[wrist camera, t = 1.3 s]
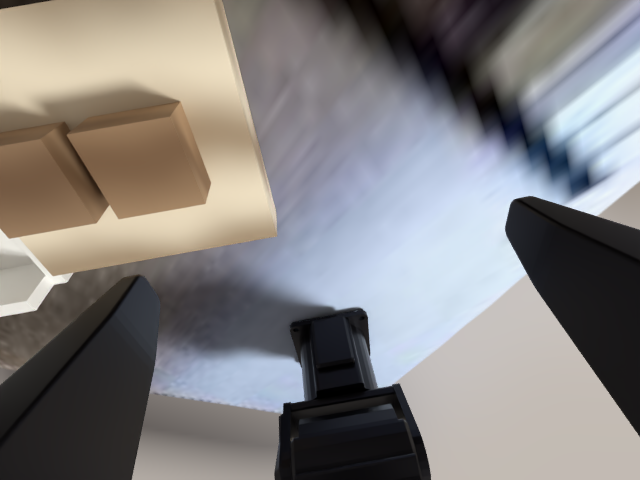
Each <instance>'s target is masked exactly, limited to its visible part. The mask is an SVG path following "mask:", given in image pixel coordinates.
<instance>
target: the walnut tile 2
mask: <svg viewBox="0 0 640 480" xmlns="http://www.w3.org/2000/svg"><path fill="white" fill-rule="evenodd" d="M66 135H67V137H68V138H69V140H70V141H71V143H72V145H73V146H74V148H75V150H76V151H77V153H78V154H79V156H80V158H81V159H82V161H83V163H84V164H85V166H86V167H87V169H88V171H89V172H90V174H91V176H92V177H93V179H94V180H95V182H96V184H97V185H98V187H99V189H100V190H101V192H102V193H103V195H104V197H105V198H106V200H107V201H108V203H109V205H110V206H111V208H112V210H113V211H114V213H115V214H116V216H117V218H118V219H124V218H130V217H135V216H141V215H147V214H152V213H158V212H164V211H169V210H175V209H180V208H186V207H192V206H197V205H203V204H206V200H207V197H208V193H209V189H210V186H211V181H210V178H209V176H208V173H207V170H206V168H205V165H204V162H203V160H202V157H201V154H200V152H199V149H198V146H197V144H196V141H195V138H194V136H193V133H192V130H191V128H190V125H189V122H188V120H187V117H186V115H185V112H184V109H183V107H182V104H181V101H179V102H174V103H168V104H162V105H156V106H151V107H145V108H139V109H133V110H128V111H122V112H116V113H110V114H105V115H99V116H93V117H88V118H87V119H85V120H84V121H83V122H82V123H80V124H79V125H78V126H77V127H75V128H74V129H73V130H72V131H70V132H69V133H68V134H66Z"/></svg>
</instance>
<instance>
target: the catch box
mask: <svg viewBox="0 0 640 480" xmlns="http://www.w3.org/2000/svg"><path fill="white" fill-rule="evenodd" d="M72 274H73V273H69V274H63V275H57V276H52V275H51V274H50V273H49V272H48V270H47V269H46V268H45V267H44V266H43V265H42V264H41V262H40V261H39V260H38V259H37V258H36V257H35V256H34V254H33V253H32V252H31V251H30V250H29V249H28V248H27V246H26V245H25V244H24V243H23V242H22V241H21V240H20V238H19V237H17V238H11V239H9V238H8V237H7V236H6V235H5V234H4V233H3V231H2V230H1V229H0V317H2V316H8V315H13V314H19V313H24V312H30V311H36V310H37V309H38V307H39V306H40V304H41V303H42V301H43V300H44V298H45V297H46V295H47V294H48V293H49V291H50V290H51V288H52V287H53V285H55V284H60V283H66V282H68V280H69V279H70V277H71V276H72Z"/></svg>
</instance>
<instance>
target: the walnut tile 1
mask: <svg viewBox="0 0 640 480" xmlns="http://www.w3.org/2000/svg"><path fill="white" fill-rule="evenodd" d="M69 132H70V129H69V128H68V126H67V124H66V123H65V121H64V122H58V123H53V124H47V125H41V126H35V127H30V128H24V129H18V130H12V131H7V132H1V133H0V229H1V230H2V231H3V233H4V234H5V235H6V236H7V237H8V238H9V239H11V238H17V237H22V236H28V235H34V234H39V233H45V232H51V231H56V230H62V229H68V228H73V227H79V226H85V225H90V224H96V223H97V222H98V221H99V219H100V218H101V216H102V215H103V214H104V212H105V211H106V209H107V208H108V206H109V203H108V201H107V200H106V198H105V197H104V195H103V193H102V192H101V190H100V189H99V187H98V185H97V184H96V182H95V180H94V179H93V177H92V176H91V174H90V172H89V171H88V169H87V167H86V166H85V164H84V163H83V161H82V159H81V158H80V156H79V154H78V153H77V151H76V150H75V148H74V146H73V145H72V143H71V141H70V140H69V138H68V137H67V135H66V134H68V133H69Z"/></svg>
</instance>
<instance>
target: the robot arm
mask: <svg viewBox="0 0 640 480" xmlns="http://www.w3.org/2000/svg"><path fill="white" fill-rule="evenodd" d="M505 231H506V235H507V238H508V239H509V241H510V243H511V245H512V247H513V249H514V250H515V252H516V254H517V256H518V258H519V260H520V261H521V263H522V265H523V267H524V269H525V271H526V272H527V274H528V276H529V278H530V280H531V281H532V283H533V285H534V286H535V288H536V289H537V291H538V292H539V294H540V295H541V297H542V298H543V300H544V301H545V302H546V304H547V305H548V307H549V308H550V309H551V311H552V312H553V314H554V315H555V317H556V318H557V320H558V321H559V323H560V324H561V325H562V327H563V328H564V330H565V331H566V333H567V334H568V335H569V337H570V338H571V339H572V341H573V342H574V344H575V345H576V347H577V348H578V350H579V351H580V352H581V354H582V355H583V357H584V358H585V360H586V361H587V362H588V364H589V365H590V367H591V368H592V369H593V371H594V372H595V374H596V375H597V377H598V378H599V379H600V381H601V382H602V384H603V385H604V386H605V388H606V389H607V391H608V392H609V394H610V395H611V396H612V398H613V399H614V401H615V402H616V404H617V405H618V406H619V408H620V409H621V411H622V412H623V413H624V415H625V416H626V418H627V419H628V421H629V422H630V424H631V425H632V426H633V428H634V429H635V431H636V432H637V433H638V435H639V436H640V230H639V229H635V228H632V227H629V226H626V225H622V224H620V223H616V222H613V221H610V220H607V219H603V218H600V217H597V216H594V215H591V214H588V213H584V212H581V211H578V210H575V209H572V208H568V207H565V206H562V205H559V204H556V203H553V202H549V201H546V200H543V199H540V198H537V197H533V196H528V197H523V198H518V199H515V200H513V201H512V202H511V204H510V208H509V213H508V217H507V221H506V226H505ZM159 315H160V300H159V297H158V295H157V294H156V292H155V291H154V290H153V288H152V287H151V285H150V284H149V282H148V281H147V279H146V278H145V277H144V276H143V275H134V276H129V277H125V278H123V279H121V280H120V281H119V282H118V283H117V284H116V285H114V286H113V287H112V288H111V289H110V290H109V291H107V292H106V293H105V294H104V295H103V296H102V297H101V298H99V299H98V300H97V301H96V302H95V303H94V304H93V305H91V306H90V307H89V308H88V309H87V310H86V311H85V312H83V313H82V314H81V315H80V316H79V317H78V318H77V319H75V320H74V321H73V322H72V323H71V324H70V325H68V326H67V327H66V328H65V329H64V330H63V331H62V332H60V333H59V334H58V335H57V336H56V337H55V338H54V339H52V340H51V341H50V342H49V343H48V344H47V345H46V346H44V347H43V348H42V349H41V350H40V351H39V352H38V353H36V354H35V355H34V356H33V357H32V358H31V359H29V360H28V361H27V362H26V363H25V364H24V365H23V366H21V367H20V368H19V369H18V370H17V371H16V372H15V373H13V374H12V375H11V376H10V377H9V378H8V379H7V380H5V381H4V382H3V383H2V384H1V385H0V480H132V475H133V470H134V465H135V459H136V455H137V450H138V445H139V440H140V436H141V430H142V425H143V421H144V416H145V411H146V405H147V401H148V396H149V391H150V386H151V382H152V377H153V372H154V366H155V359H156V350H157V338H158V327H159ZM290 332H291V336H292V339H293V342H294V345H295V349H296V352H297V355H298V358H299V362H300V365H301V368H302V375H303V386H304V398H305V401H302V402H297V403H291V402H289V403H284V405H283V414H281V416H279V446H278V453H277V459H276V466H275V480H431V474H430V468H429V463H428V458H427V454H426V450H425V447H424V443H423V440H422V437H421V434H420V432H419V429H418V427H417V424H416V422H415V420H414V417H413V415H412V412H411V410H410V407H409V405H408V403H407V400H406V398H405V396H404V393H403V391H402V388H401V386H400V384H399V383H398V384H393V385H392V386H389V387H383V388H378V386H377V383H376V379H375V375H374V371H373V367H372V364H371V360H370V344H369V329H368V317H367V313H366V312H365V311H363V310H362V311H355V312H350V313H344V314H339V315H333V316H328V317H322V318H317V319H311V320H306V321H300V322H295V323H292V324H291V325H290Z"/></svg>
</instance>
